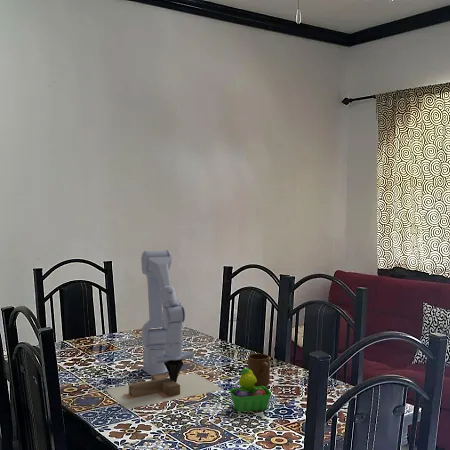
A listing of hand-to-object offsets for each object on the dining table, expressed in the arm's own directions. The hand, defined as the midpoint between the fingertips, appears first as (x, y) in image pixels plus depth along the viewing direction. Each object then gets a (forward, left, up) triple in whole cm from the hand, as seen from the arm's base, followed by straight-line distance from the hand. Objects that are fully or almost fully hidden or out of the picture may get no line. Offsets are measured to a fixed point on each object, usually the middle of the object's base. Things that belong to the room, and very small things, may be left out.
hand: (173, 382), depth 189 cm
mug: (+13, +27, -2) cm, 30 cm away
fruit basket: (+27, +13, -2) cm, 30 cm away
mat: (0, -3, -2) cm, 4 cm away
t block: (0, -8, -2) cm, 8 cm away
